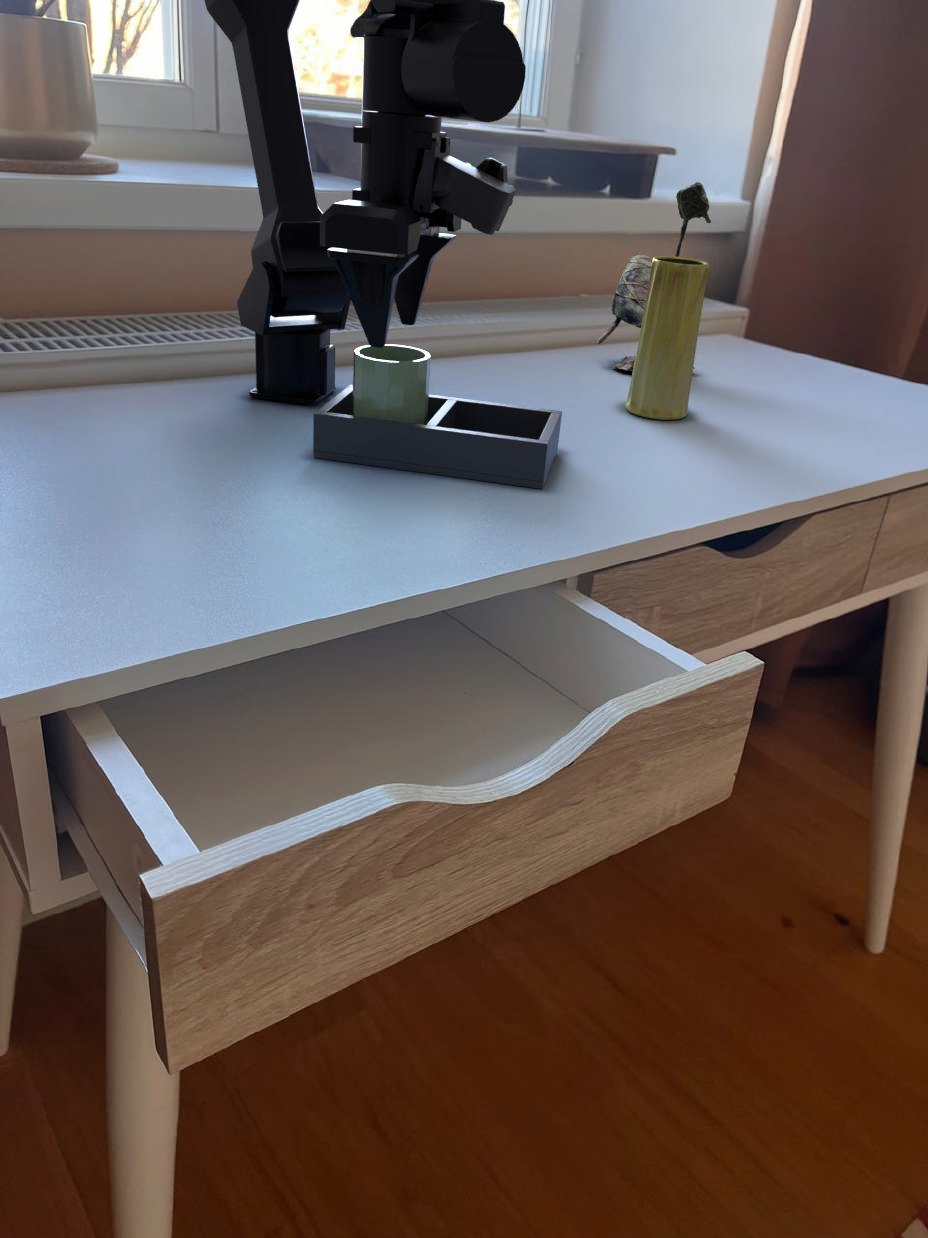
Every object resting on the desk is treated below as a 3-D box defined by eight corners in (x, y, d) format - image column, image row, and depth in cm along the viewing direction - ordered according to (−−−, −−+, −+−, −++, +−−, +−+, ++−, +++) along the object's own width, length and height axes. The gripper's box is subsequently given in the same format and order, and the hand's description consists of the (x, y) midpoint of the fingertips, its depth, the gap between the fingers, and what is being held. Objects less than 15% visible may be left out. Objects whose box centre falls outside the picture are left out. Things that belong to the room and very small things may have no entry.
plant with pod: (618, 354, 121) (643, 174, 112) (703, 374, 115) (738, 185, 106) (582, 364, 115) (606, 174, 106) (670, 385, 109) (704, 186, 100)
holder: (542, 489, 76) (547, 443, 75) (313, 457, 79) (313, 413, 77) (557, 452, 85) (562, 411, 83) (349, 425, 88) (350, 384, 86)
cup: (343, 444, 80) (344, 356, 77) (364, 424, 85) (366, 341, 82) (415, 454, 79) (420, 365, 76) (432, 433, 84) (437, 349, 81)
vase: (686, 423, 96) (715, 267, 89) (623, 415, 97) (646, 260, 90) (687, 407, 101) (713, 259, 94) (626, 400, 102) (648, 252, 95)
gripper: (488, 123, 62) (470, 374, 69) (531, 122, 78) (512, 325, 86) (317, 109, 64) (316, 355, 71) (394, 111, 80) (387, 310, 87)
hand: (393, 335), depth 79 cm, fingers open, 9 cm apart
